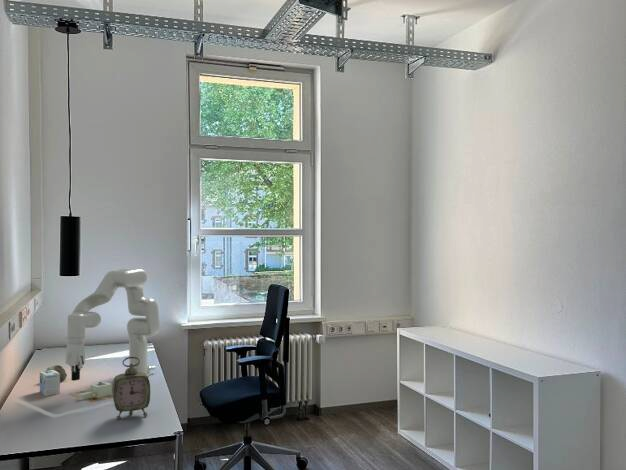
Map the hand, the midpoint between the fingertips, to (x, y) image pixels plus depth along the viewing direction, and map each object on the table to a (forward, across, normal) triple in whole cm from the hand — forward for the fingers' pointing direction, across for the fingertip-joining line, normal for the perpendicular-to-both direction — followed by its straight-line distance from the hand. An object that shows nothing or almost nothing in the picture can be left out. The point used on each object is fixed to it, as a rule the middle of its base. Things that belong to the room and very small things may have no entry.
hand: (75, 379), depth 262 cm
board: (+9, +3, +11) cm, 15 cm away
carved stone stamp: (+9, -41, +10) cm, 43 cm away
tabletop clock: (+10, +42, +3) cm, 43 cm away
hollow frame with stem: (+8, +6, +6) cm, 12 cm away
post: (+8, +6, +9) cm, 14 cm away
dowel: (+8, +10, +4) cm, 13 cm away
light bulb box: (+9, -18, -4) cm, 20 cm away
